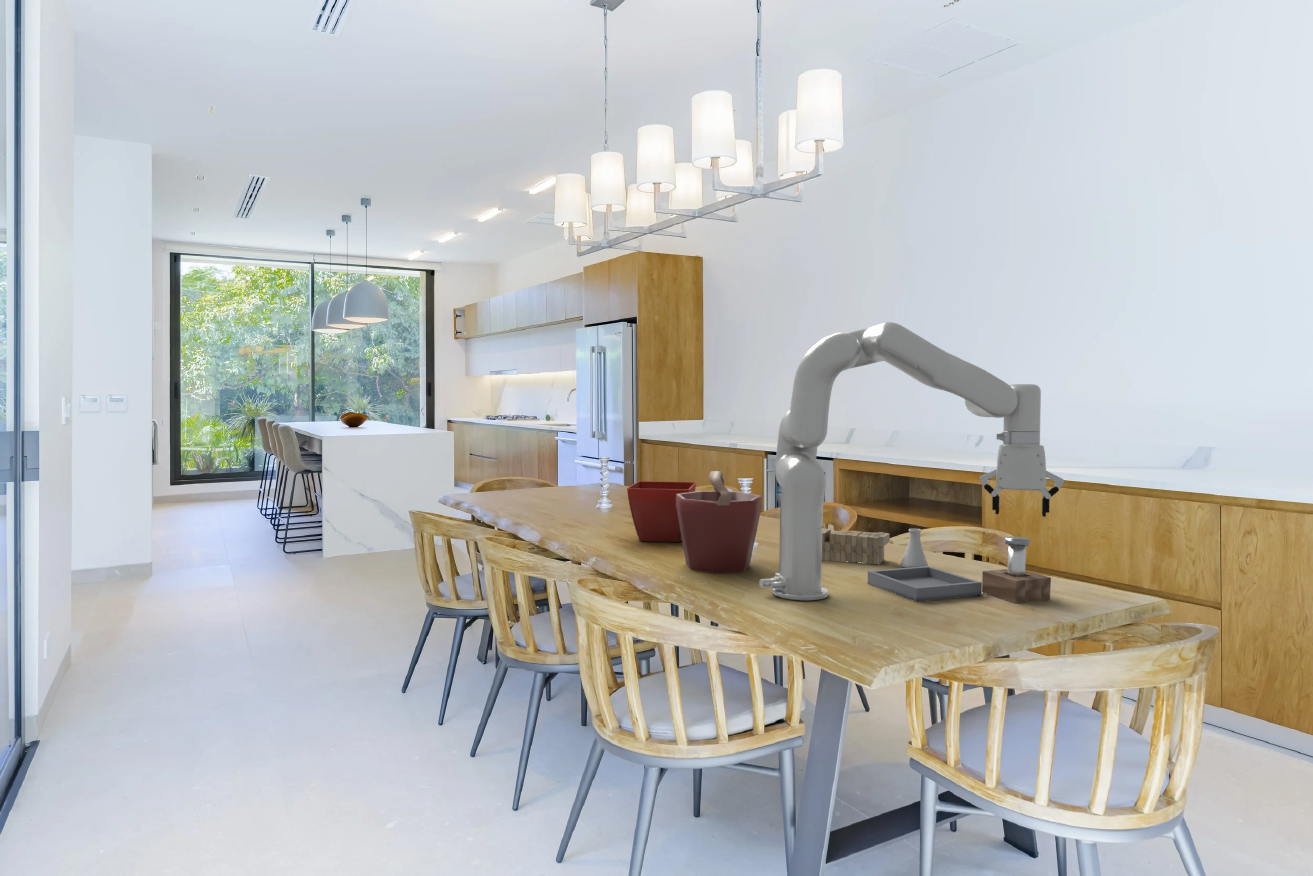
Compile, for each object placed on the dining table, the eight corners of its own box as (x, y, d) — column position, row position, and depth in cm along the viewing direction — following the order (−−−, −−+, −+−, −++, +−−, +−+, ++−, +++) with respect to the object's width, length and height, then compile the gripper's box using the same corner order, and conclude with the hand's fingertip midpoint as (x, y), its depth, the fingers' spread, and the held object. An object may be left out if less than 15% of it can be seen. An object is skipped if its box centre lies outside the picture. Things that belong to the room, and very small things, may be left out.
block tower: (778, 559, 227) (884, 566, 214) (777, 529, 226) (884, 535, 213) (786, 554, 234) (889, 561, 221) (786, 525, 233) (889, 530, 221)
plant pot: (625, 542, 243) (626, 487, 243) (637, 532, 262) (638, 480, 261) (688, 545, 240) (689, 489, 239) (695, 534, 259) (696, 482, 258)
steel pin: (1015, 599, 180) (1017, 541, 179) (997, 594, 185) (999, 537, 184) (1033, 598, 182) (1035, 540, 181) (1015, 592, 186) (1017, 536, 186)
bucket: (746, 579, 197) (747, 477, 195) (660, 572, 204) (661, 474, 202) (765, 560, 220) (767, 469, 218) (688, 554, 227) (689, 466, 225)
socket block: (1015, 603, 177) (1015, 580, 176) (981, 592, 186) (982, 571, 186) (1050, 599, 180) (1050, 577, 180) (1015, 589, 189) (1016, 568, 189)
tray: (916, 601, 177) (916, 588, 177) (867, 583, 194) (867, 571, 194) (981, 595, 183) (981, 582, 183) (928, 578, 200) (929, 566, 200)
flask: (930, 570, 209) (931, 532, 208) (901, 569, 210) (902, 531, 210) (926, 564, 216) (927, 527, 215) (898, 563, 218) (899, 526, 217)
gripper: (979, 439, 181) (978, 515, 182) (1065, 440, 174) (1063, 519, 175) (980, 437, 188) (979, 510, 189) (1063, 438, 181) (1062, 514, 182)
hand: (1020, 514), depth 182 cm, fingers open, 9 cm apart
